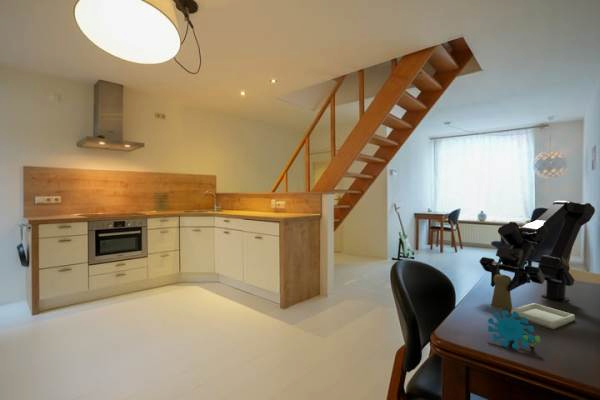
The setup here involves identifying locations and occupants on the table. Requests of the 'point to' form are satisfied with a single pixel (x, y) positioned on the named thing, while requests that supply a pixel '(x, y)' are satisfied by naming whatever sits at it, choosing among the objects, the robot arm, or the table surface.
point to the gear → (512, 330)
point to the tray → (544, 315)
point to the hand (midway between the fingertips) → (499, 288)
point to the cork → (501, 293)
